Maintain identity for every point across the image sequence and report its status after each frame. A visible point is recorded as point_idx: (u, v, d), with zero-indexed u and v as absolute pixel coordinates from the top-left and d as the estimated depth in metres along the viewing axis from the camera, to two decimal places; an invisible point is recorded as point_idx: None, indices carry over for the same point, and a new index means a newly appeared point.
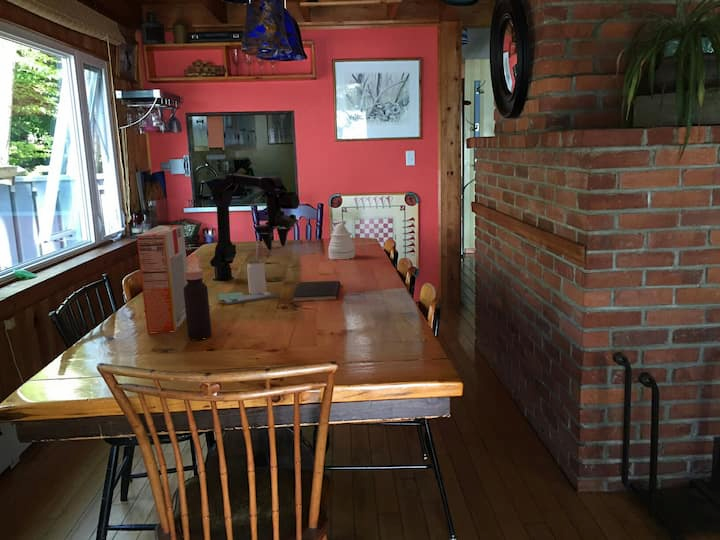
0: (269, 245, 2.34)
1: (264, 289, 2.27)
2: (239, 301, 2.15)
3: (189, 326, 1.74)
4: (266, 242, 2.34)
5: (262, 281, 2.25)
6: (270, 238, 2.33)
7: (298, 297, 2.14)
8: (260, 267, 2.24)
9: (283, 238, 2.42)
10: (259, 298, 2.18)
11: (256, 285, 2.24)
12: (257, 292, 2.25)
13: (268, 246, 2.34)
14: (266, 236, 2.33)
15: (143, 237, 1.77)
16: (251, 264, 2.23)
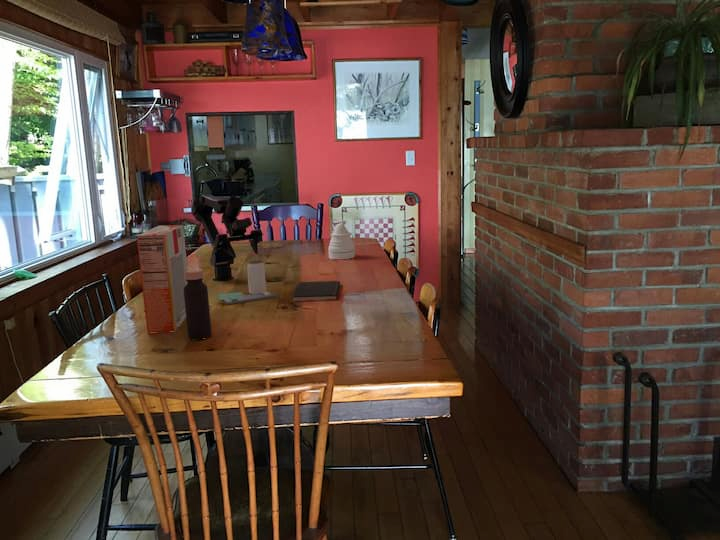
0: (232, 253, 2.29)
1: (264, 289, 2.27)
2: (239, 301, 2.15)
3: (189, 326, 1.74)
4: (229, 252, 2.30)
5: (262, 281, 2.25)
6: (229, 245, 2.30)
7: (298, 297, 2.14)
8: (260, 267, 2.24)
9: (254, 247, 2.36)
10: (259, 298, 2.18)
11: (256, 285, 2.24)
12: (257, 292, 2.25)
13: (232, 254, 2.30)
14: (227, 247, 2.31)
15: (143, 237, 1.77)
16: (251, 264, 2.23)
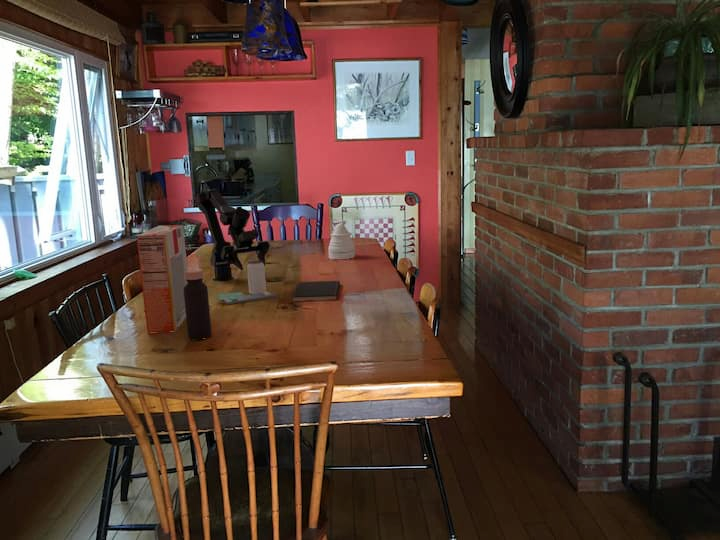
0: (239, 265, 2.26)
1: (264, 289, 2.27)
2: (239, 301, 2.15)
3: (189, 326, 1.74)
4: (236, 264, 2.27)
5: (262, 281, 2.25)
6: (236, 257, 2.26)
7: (298, 297, 2.14)
8: (260, 267, 2.24)
9: (261, 259, 2.32)
10: (259, 298, 2.18)
11: (256, 285, 2.24)
12: (257, 292, 2.25)
13: (239, 266, 2.26)
14: (234, 259, 2.27)
15: (143, 237, 1.77)
16: (251, 264, 2.23)
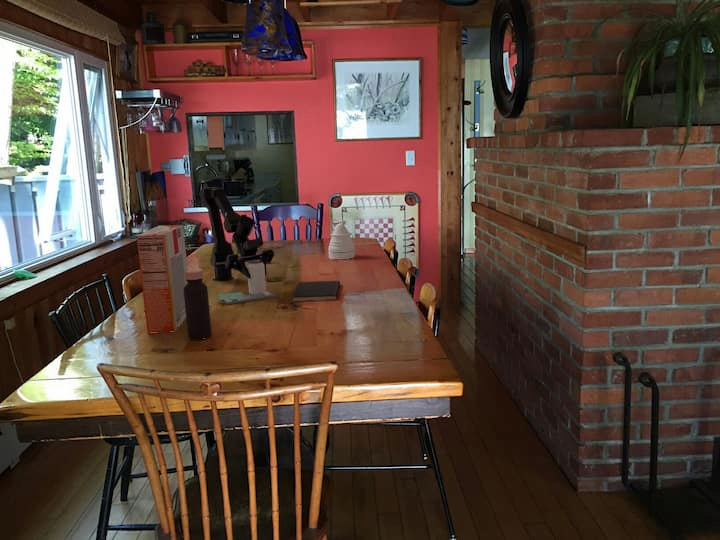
0: (246, 273, 2.24)
1: (264, 289, 2.27)
2: (239, 301, 2.15)
3: (189, 326, 1.74)
4: (243, 272, 2.25)
5: (262, 281, 2.25)
6: (243, 266, 2.24)
7: (298, 297, 2.14)
8: (260, 267, 2.24)
9: None
10: (259, 298, 2.18)
11: (256, 285, 2.24)
12: (257, 292, 2.25)
13: (246, 275, 2.24)
14: (241, 267, 2.26)
15: (143, 237, 1.77)
16: (251, 264, 2.23)
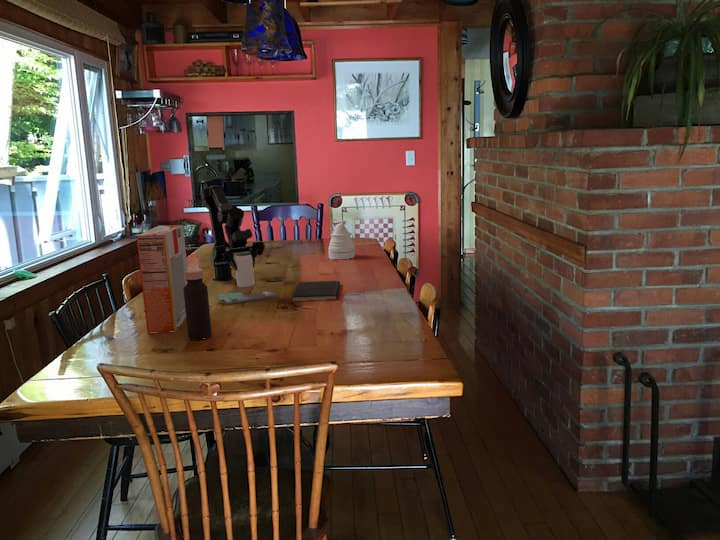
0: (233, 265, 2.22)
1: (252, 282, 2.23)
2: (239, 301, 2.15)
3: (189, 326, 1.74)
4: (231, 264, 2.23)
5: (249, 274, 2.22)
6: (230, 257, 2.22)
7: (298, 297, 2.14)
8: (246, 259, 2.21)
9: None
10: (259, 298, 2.18)
11: (243, 278, 2.22)
12: (244, 285, 2.22)
13: (233, 267, 2.22)
14: (229, 258, 2.24)
15: (143, 237, 1.77)
16: (238, 256, 2.21)
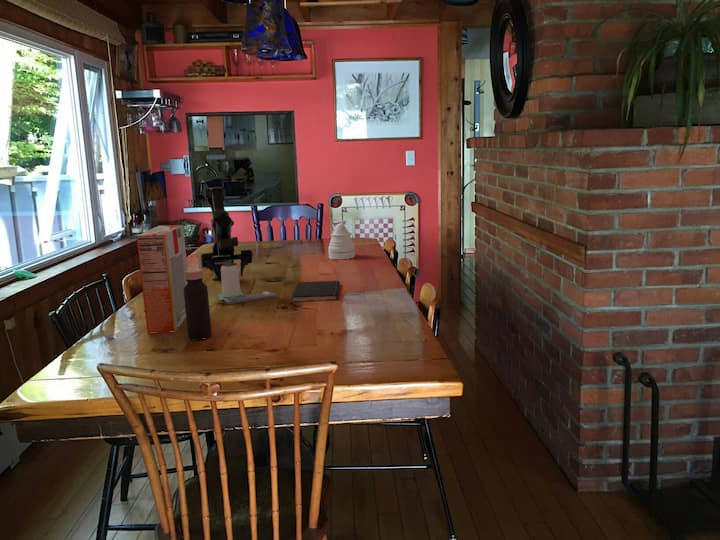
0: (215, 273, 2.20)
1: (236, 292, 2.22)
2: (239, 301, 2.15)
3: (189, 326, 1.74)
4: (213, 272, 2.22)
5: (233, 285, 2.20)
6: (213, 265, 2.21)
7: (298, 297, 2.14)
8: (230, 270, 2.19)
9: (240, 268, 2.24)
10: (259, 298, 2.18)
11: (227, 288, 2.20)
12: (228, 295, 2.21)
13: (215, 275, 2.20)
14: None
15: (143, 237, 1.77)
16: (223, 266, 2.20)
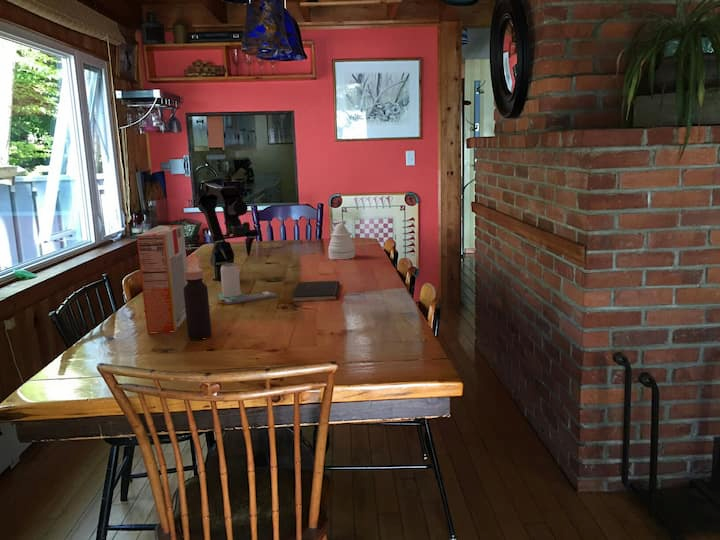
0: (224, 254, 2.35)
1: (236, 292, 2.22)
2: (239, 301, 2.15)
3: (189, 326, 1.74)
4: (222, 251, 2.36)
5: (233, 285, 2.20)
6: (223, 247, 2.34)
7: (298, 297, 2.14)
8: (230, 270, 2.19)
9: (248, 248, 2.40)
10: (259, 298, 2.18)
11: (227, 288, 2.20)
12: (228, 295, 2.21)
13: (224, 255, 2.36)
14: (221, 245, 2.35)
15: (143, 237, 1.77)
16: (223, 266, 2.20)
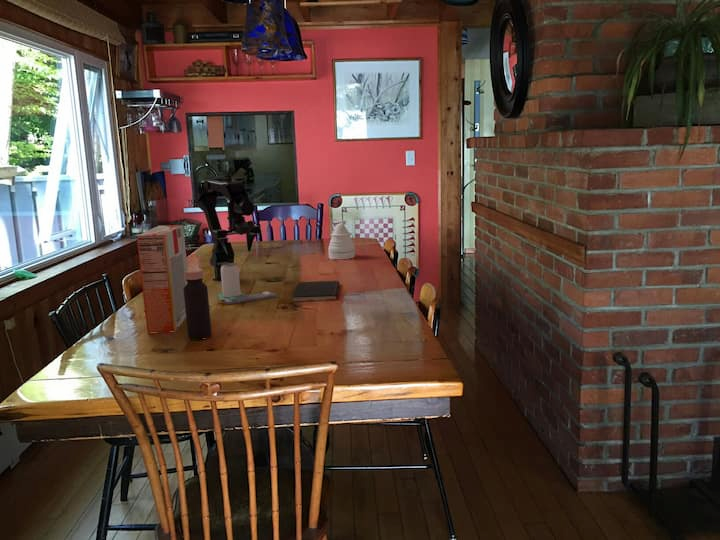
0: (226, 250, 2.37)
1: (236, 292, 2.22)
2: (239, 301, 2.15)
3: (189, 326, 1.74)
4: (224, 247, 2.37)
5: (233, 285, 2.20)
6: (225, 243, 2.35)
7: (298, 297, 2.14)
8: (230, 270, 2.19)
9: (249, 244, 2.42)
10: (259, 298, 2.18)
11: (227, 288, 2.20)
12: (228, 295, 2.21)
13: (226, 251, 2.38)
14: None
15: (143, 237, 1.77)
16: (223, 266, 2.20)
